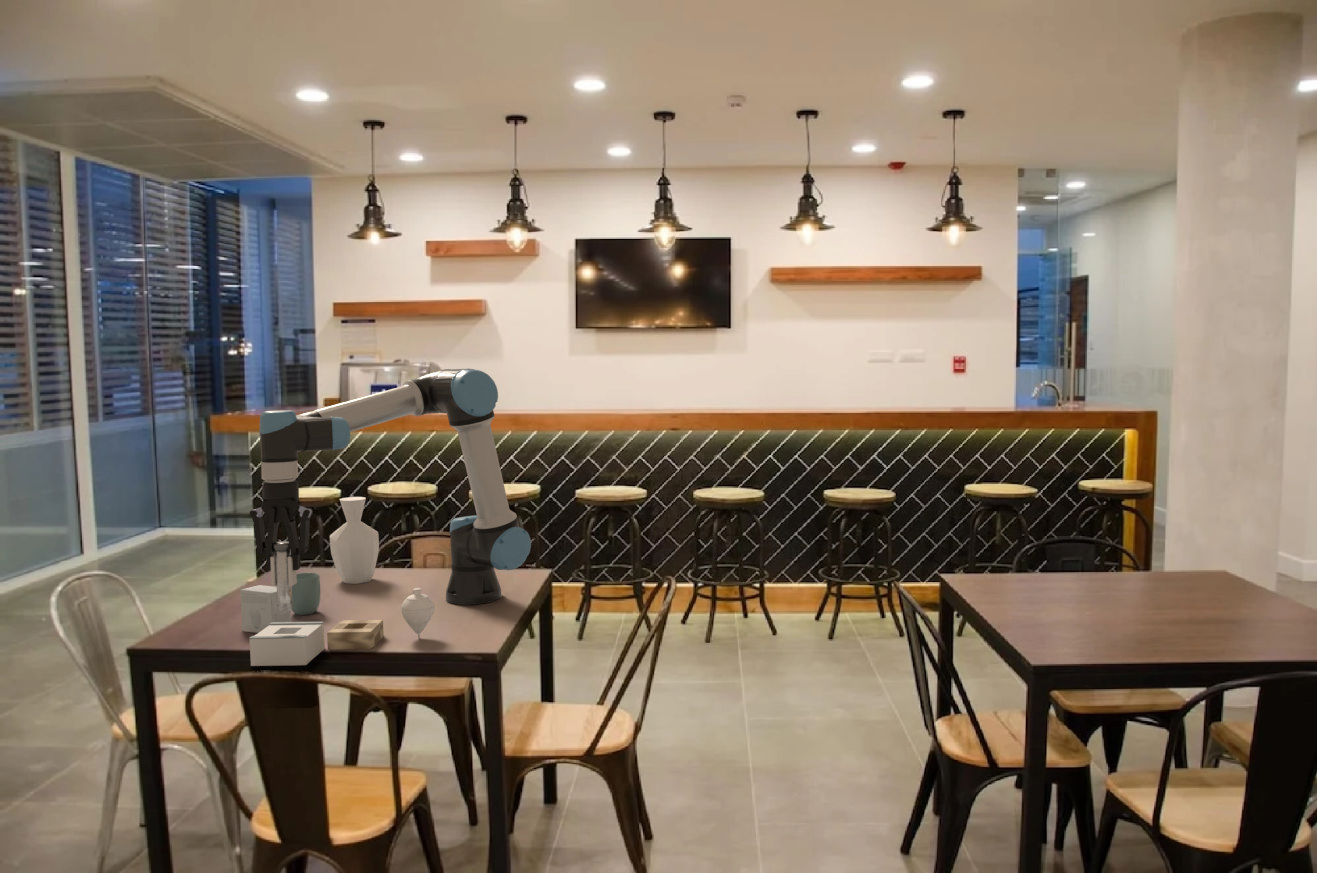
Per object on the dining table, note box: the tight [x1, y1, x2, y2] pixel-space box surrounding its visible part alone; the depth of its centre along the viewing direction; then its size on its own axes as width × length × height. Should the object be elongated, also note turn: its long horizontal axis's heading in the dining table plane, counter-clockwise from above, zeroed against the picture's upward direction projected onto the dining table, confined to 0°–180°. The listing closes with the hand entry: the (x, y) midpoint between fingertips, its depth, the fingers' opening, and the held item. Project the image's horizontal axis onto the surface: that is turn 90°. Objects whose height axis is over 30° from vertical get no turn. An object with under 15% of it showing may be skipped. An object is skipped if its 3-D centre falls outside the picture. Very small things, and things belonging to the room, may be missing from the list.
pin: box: [273, 540, 293, 611], centre depth 210 cm, size 4×4×15 cm
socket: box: [249, 621, 326, 667], centre depth 212 cm, size 12×12×6 cm
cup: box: [291, 572, 321, 616], centre depth 248 cm, size 8×8×10 cm
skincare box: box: [239, 584, 292, 634], centre depth 233 cm, size 10×6×10 cm, turn 66°
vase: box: [329, 496, 380, 585], centre depth 284 cm, size 14×14×25 cm
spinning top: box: [400, 587, 435, 639], centre depth 225 cm, size 8×8×12 cm
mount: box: [326, 619, 385, 650], centre depth 222 cm, size 10×10×4 cm
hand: (284, 584), depth 210 cm, fingers closed on pin, 3 cm apart
